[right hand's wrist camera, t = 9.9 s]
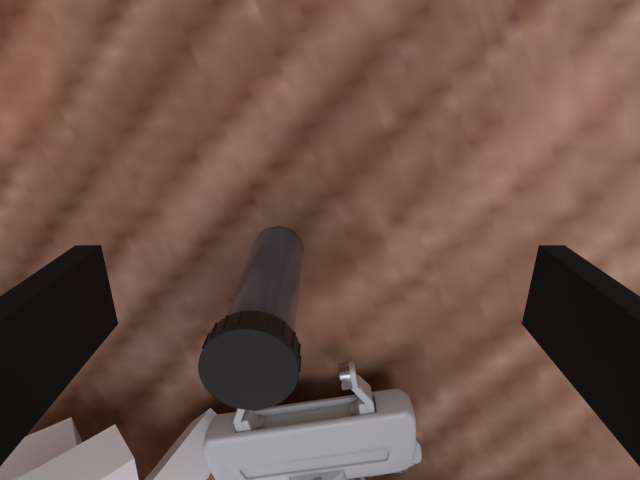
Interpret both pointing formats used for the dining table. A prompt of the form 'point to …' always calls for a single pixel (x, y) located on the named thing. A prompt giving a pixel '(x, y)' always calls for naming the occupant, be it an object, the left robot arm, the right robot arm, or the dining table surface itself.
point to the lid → (250, 360)
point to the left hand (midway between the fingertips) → (295, 374)
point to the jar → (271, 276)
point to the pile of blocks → (103, 455)
